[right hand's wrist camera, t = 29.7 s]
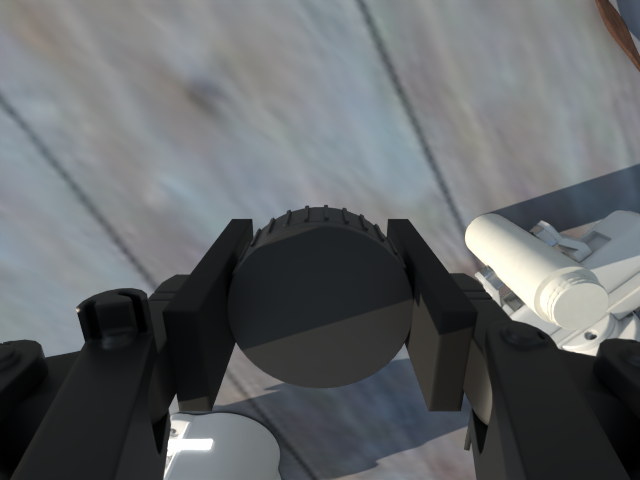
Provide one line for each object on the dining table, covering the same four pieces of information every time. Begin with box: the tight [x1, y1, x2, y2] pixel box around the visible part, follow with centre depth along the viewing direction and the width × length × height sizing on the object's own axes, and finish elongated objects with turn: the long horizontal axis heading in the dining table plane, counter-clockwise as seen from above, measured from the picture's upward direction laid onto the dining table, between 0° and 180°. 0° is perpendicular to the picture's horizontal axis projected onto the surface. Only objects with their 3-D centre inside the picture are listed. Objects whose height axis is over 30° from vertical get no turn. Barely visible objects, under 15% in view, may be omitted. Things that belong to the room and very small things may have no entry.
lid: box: [227, 205, 414, 388], centre depth 11 cm, size 5×5×2 cm
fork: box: [595, 0, 640, 72], centre depth 30 cm, size 3×16×2 cm, turn 44°
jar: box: [465, 213, 609, 330], centre depth 32 cm, size 5×5×15 cm
